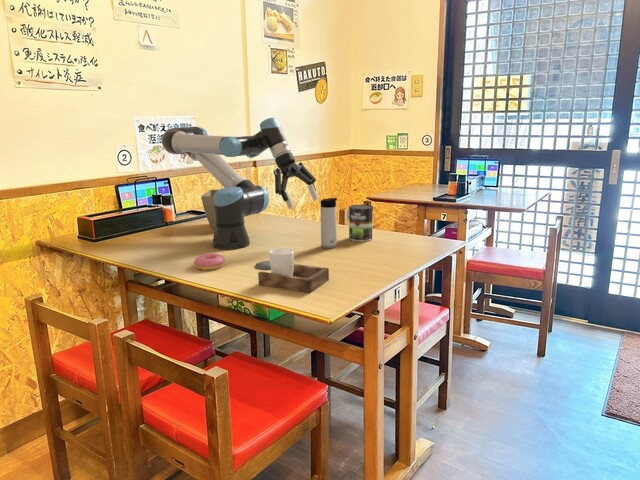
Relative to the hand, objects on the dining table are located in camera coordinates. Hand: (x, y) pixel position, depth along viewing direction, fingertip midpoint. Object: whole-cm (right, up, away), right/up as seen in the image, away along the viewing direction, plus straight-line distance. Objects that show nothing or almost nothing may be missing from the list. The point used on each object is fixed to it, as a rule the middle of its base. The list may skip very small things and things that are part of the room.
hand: (304, 203), depth 197 cm
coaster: (-12, -24, -21) cm, 34 cm away
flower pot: (-39, -8, +43) cm, 58 cm away
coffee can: (+24, -14, +15) cm, 31 cm away
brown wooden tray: (-2, -28, -39) cm, 48 cm away
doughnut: (-33, -24, -20) cm, 46 cm away
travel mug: (+10, -17, +3) cm, 20 cm away
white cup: (-6, -28, -37) cm, 47 cm away
